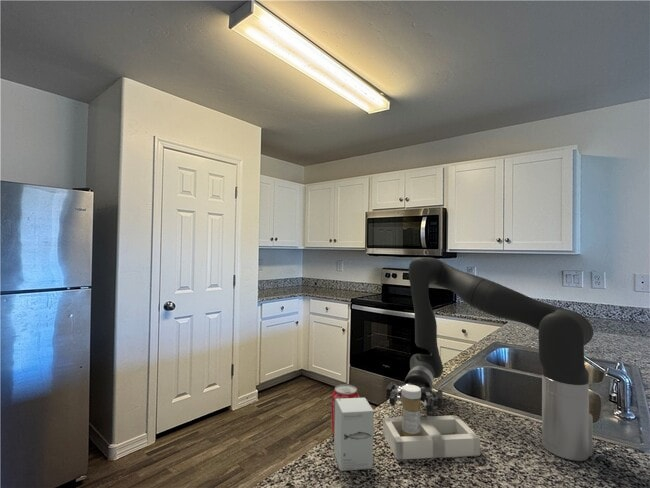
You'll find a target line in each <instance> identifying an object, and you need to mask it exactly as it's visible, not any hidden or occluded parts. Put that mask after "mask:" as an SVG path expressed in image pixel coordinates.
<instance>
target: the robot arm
mask: <svg viewBox="0 0 650 488" xmlns="http://www.w3.org/2000/svg"><path fill="white" fill-rule="evenodd" d="M408 279H409V281H408V282H409V286H410V291H411V299H412V305H413V312H414V343H415V345H416V347H418V348H420V349H424V350H426V351H428V352H429V354H423V353H415V354H412V355H411V356H410V359H409V368H410V369H409V372H408V373H407V375H406V377H405V379H404V381H403V383H401V384H400V385H397V384H396V382H394V381H390V383H389V384H388V385H387V386H386V388H385V399H387V400H389V401H388V403H389V404H390V406H391V407H395V406H396V404H397V402H398V401H401V402H402V401H403V397H402V387H403V386H404V385H415V386H418V387H419V388H420V389H421V399H420V403H422V404H423V405H424V406H425V407H426V414H429V415H430V413H432V412H434V409H435V407H436V408H437V409H440V410H441V409H443V390H442V389H437V390H436V391H433V387H434V380H435V379H439V378H440V377H441V376H442V375H443V372H444V367H443V366H444V365H443V361H442V359H441V355H440V352H439V351H440V350H439V347H438V337H437V336H438V335H437V333H438V331H437V330H438V327H437V326H438V325H437V319H436V316H435V313H434V311H433V308H432V305H431V303H430V298H429V296H430V295H429V287H430V286H431V285H432V286H438V287H441V288H444V289H446V290H449V291H451V292H453V293H454V294H455V295H456V296H458V297H459V298H460V299H461V300H462V301H463V302H464V303H466V304H467V305H469V306H470V307H472V308H474V309H477V310H478V311H481V312H483V313H485V314H488V315H490V316H493V317H496V318H500V319H504V320H508V321H513V322H518V323H521V324H524V325H526V326H529V327H531V328H534V329H536V330H537V331H538V332H537V333H538V358H539V359H538V360H539V364H540V366H541V371H542V372H541V375H542V376H541V378H542V379H541V383H542V384H541V385H542V386H541V394H542V395H541V445H542V447H543V448H544V449H545V450H546V451H548V452H549V453H551V454H553V455H554V456H557V457H559V458H562V459H566V460H571V461H575V462H580V461H582V462H583V461H586V460H588V459H589V457H593V456H594V455H593V451H594V450H593V447H594V446H593V445H594V444H593V443H594V442H593V440H594V439H593V437H594V435H593V426H594V425H593V424H594V423H593V419H594V418H593V417H594V416H593V414H592V413H590V409H589V408H590V405H589V403H590V402H589V401H590V397H589V395H590V392H589V390H590V388H589V387H590V386H589V382H590V379H589V378H590V377H589V375H590V373H589V371H588V369H587V368H586V365H585V346H586V345H588V344H589V343H590V342H591V340H592V339H593V336H594V328H593V325H592V323H591V321H590V320H588V318H587V317H585V316H583V314H581V313H579V312H578V311H574V310H570V309H567V308H564V307H559V306H556V305H554V304H549V303H546V302H542V301H540V300H537V299H535V298H532V297H530V296H528V295H525V294H523V293H522V292H519V291H516V290H514V289H512V288H511V287H507V286H505V285H502V284H500V283H498V282H495V281H493V280H490V279H488V278H485V277H481V276H478V275H475V274H473V273H470V272H465V271H462V270H459V269H458V268H455V267H453V266H451V265H450V264H447V263H446V262H444V261H441V260H440V259H437V258H434V257H428V256H427V257H424V256H422V257H421V256H419V257H416V258H413V259H412V260H411V261H410V263H409V266H408Z"/></svg>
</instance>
